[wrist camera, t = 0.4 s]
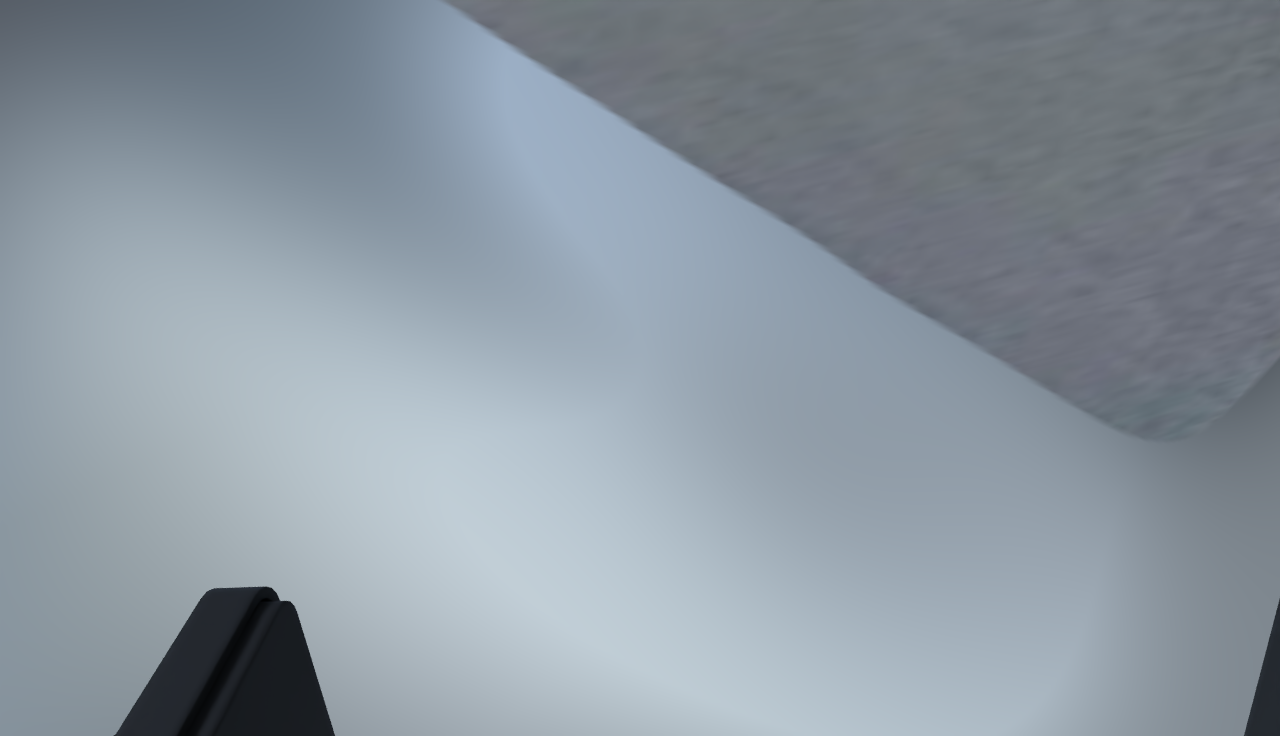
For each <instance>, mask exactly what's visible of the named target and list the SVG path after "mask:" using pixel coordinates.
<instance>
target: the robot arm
mask: <svg viewBox="0 0 1280 736" xmlns="http://www.w3.org/2000/svg"><path fill="white" fill-rule="evenodd" d="M114 736H335V734H334V731H333V728H332V725H331V721H330V718H329V715H328V712H327V708H326V705H325V702H324V698H323V695H322V692H321V689H320V685H319V682H318V679H317V676H316V672H315V669H314V666H313V663H312V659H311V656H310V653H309V650H308V646H307V643H306V640H305V637H304V633H303V630H302V627H301V623H300V620H299V617H298V614H297V611H296V609H295V606H294V605H293V604H292V603H291V602H290V601H280V600H279V598H278V595H277V593H276V592H275V591H274V590H273V589H272V588H269V587H244V588H243V587H242V588H216V589H215V588H214V589H211V590H209V591H207V592H206V593H205V595H204V596H203V597H202V598H201V599H200V601H199V602H198V604H197V606H196V607H195V609H194V610H193V612H192V614H191V615H190V617H189V619H188V620H187V622H186V623H185V625H184V626H183V628H182V630H181V631H180V633H179V635H178V636H177V638H176V639H175V641H174V642H173V644H172V646H171V648H170V649H169V650H168V652H167V654H166V655H165V657H164V658H163V660H162V662H161V663H160V665H159V666H158V668H157V670H156V671H155V673H154V674H153V676H152V677H151V679H150V681H149V683H148V684H147V685H146V687H145V689H144V690H143V692H142V694H141V695H140V697H139V698H138V700H137V702H136V703H135V705H134V706H133V708H132V709H131V711H130V713H129V714H128V716H127V717H126V719H125V721H124V722H123V724H122V726H121V727H120V729H119V730H118V732H117V734H116V735H114ZM1244 736H1280V600H1279V604H1278V608H1277V611H1276V615H1275V619H1274V623H1273V627H1272V631H1271V634H1270V638H1269V642H1268V646H1267V650H1266V654H1265V658H1264V661H1263V665H1262V669H1261V673H1260V677H1259V681H1258V684H1257V688H1256V692H1255V696H1254V700H1253V704H1252V707H1251V712H1250V715H1249V719H1248V723H1247V727H1246V731H1245V735H1244Z"/></svg>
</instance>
